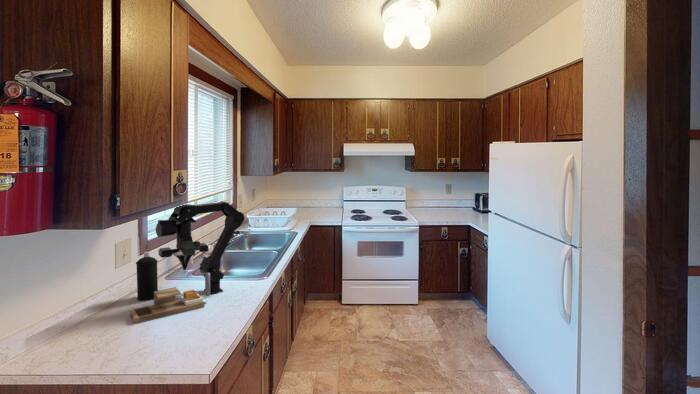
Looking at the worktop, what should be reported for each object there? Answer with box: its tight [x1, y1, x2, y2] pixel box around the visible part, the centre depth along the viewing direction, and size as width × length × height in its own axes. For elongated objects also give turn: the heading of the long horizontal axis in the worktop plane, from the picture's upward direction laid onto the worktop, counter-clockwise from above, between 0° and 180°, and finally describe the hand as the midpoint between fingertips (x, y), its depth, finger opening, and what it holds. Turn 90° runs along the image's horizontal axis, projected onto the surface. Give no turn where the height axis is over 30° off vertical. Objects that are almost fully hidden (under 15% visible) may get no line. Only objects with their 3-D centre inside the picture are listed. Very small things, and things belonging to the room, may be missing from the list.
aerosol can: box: [135, 251, 159, 302], centre depth 155 cm, size 8×8×20 cm
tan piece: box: [128, 286, 205, 325], centre depth 143 cm, size 10×25×8 cm, turn 131°
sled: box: [180, 273, 212, 305], centre depth 150 cm, size 7×11×10 cm, turn 131°
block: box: [183, 289, 198, 301], centre depth 149 cm, size 4×4×4 cm
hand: (184, 269), depth 155 cm, fingers closed
